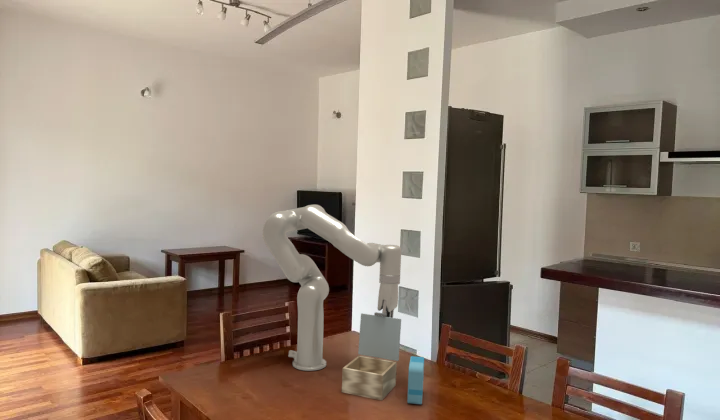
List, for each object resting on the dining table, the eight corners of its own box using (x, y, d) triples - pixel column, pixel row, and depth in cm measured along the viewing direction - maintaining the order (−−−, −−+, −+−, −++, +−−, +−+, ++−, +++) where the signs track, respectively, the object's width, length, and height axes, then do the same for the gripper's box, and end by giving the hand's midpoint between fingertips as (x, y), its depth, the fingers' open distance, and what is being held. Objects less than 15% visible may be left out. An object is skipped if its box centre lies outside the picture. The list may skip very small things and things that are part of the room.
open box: (341, 392, 167) (342, 368, 166) (358, 377, 179) (358, 355, 179) (381, 400, 161) (382, 375, 161) (395, 384, 174) (396, 362, 174)
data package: (421, 406, 158) (423, 368, 157) (407, 404, 159) (408, 367, 158) (422, 391, 170) (424, 355, 169) (409, 389, 171) (410, 354, 170)
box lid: (360, 310, 179) (361, 310, 181) (357, 354, 179) (358, 353, 180) (400, 316, 173) (401, 315, 175) (397, 361, 173) (398, 360, 174)
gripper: (386, 274, 193) (384, 322, 194) (372, 281, 179) (370, 332, 180) (405, 276, 190) (403, 325, 191) (393, 283, 176) (391, 335, 177)
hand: (387, 328), depth 185 cm, fingers closed
